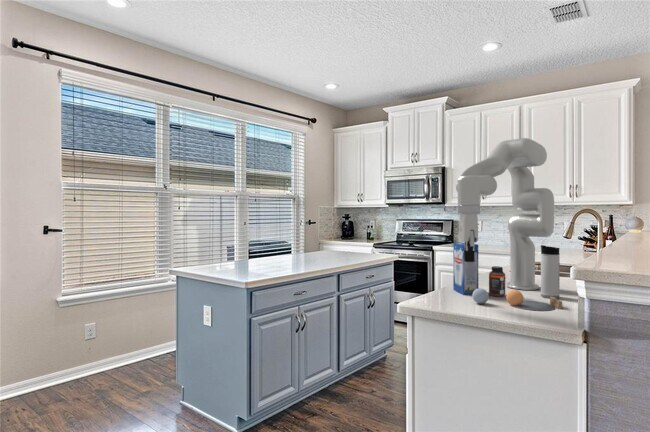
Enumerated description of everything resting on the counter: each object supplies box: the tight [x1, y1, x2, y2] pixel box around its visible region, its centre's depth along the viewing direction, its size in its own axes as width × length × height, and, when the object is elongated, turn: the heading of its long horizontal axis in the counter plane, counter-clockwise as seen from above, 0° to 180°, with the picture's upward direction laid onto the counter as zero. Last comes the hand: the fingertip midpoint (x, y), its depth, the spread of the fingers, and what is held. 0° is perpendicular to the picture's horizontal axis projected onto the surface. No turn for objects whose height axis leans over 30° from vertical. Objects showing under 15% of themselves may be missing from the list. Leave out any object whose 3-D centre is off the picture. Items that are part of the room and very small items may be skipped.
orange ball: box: [505, 289, 524, 306], centre depth 142 cm, size 6×6×6 cm
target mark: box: [511, 300, 556, 312], centre depth 141 cm, size 14×14×1 cm
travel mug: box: [540, 244, 561, 299], centre depth 154 cm, size 6×7×20 cm
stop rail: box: [549, 297, 563, 310], centre depth 140 cm, size 7×1×2 cm, turn 172°
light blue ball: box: [471, 287, 490, 305], centre depth 145 cm, size 6×6×6 cm
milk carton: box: [452, 242, 479, 296], centre depth 165 cm, size 10×6×20 cm, turn 5°
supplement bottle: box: [488, 265, 506, 298], centre depth 158 cm, size 6×6×11 cm
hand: (469, 261), depth 143 cm, fingers closed
